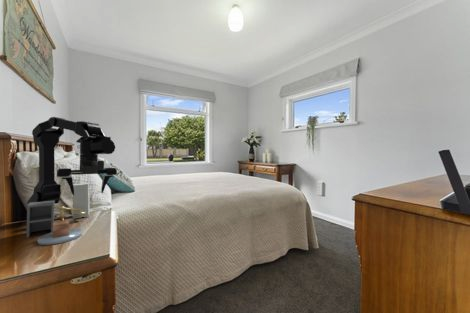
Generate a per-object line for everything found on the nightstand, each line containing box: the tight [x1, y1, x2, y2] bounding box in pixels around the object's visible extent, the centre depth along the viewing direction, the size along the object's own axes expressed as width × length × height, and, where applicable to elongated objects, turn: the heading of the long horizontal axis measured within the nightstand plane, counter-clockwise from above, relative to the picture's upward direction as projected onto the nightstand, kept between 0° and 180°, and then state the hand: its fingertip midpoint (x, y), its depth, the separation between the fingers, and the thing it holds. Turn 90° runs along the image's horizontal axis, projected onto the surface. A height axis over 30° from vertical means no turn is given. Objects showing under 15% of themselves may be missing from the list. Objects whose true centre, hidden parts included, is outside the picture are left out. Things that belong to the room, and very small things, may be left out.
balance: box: [54, 205, 86, 224], centre depth 83 cm, size 16×5×8 cm, turn 130°
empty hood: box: [26, 215, 55, 238], centre depth 72 cm, size 7×7×5 cm
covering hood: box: [26, 200, 56, 223], centre depth 72 cm, size 7×7×5 cm
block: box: [53, 220, 70, 238], centre depth 67 cm, size 4×4×4 cm
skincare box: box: [72, 182, 91, 220], centre depth 93 cm, size 8×6×15 cm
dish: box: [37, 228, 83, 246], centre depth 67 cm, size 11×11×1 cm
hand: (88, 193), depth 80 cm, fingers open, 9 cm apart
